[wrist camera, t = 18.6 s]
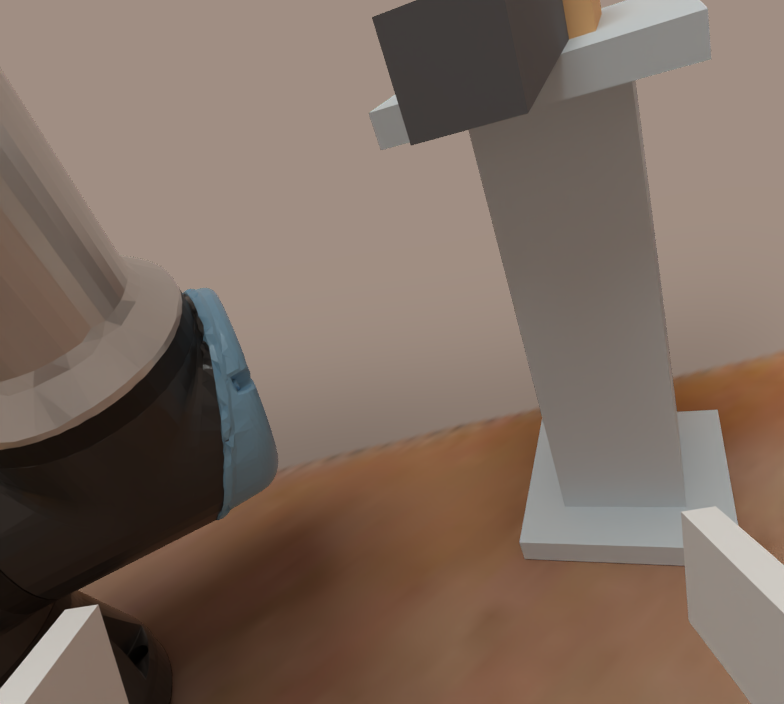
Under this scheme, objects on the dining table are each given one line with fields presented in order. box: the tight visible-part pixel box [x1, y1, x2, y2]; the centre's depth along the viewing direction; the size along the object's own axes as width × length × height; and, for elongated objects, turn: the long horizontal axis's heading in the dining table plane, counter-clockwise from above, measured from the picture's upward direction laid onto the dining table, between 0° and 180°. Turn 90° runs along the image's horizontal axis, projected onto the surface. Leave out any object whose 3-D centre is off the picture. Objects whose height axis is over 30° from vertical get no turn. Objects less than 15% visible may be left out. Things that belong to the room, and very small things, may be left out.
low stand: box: [369, 0, 738, 566], centre depth 33 cm, size 12×14×28 cm
